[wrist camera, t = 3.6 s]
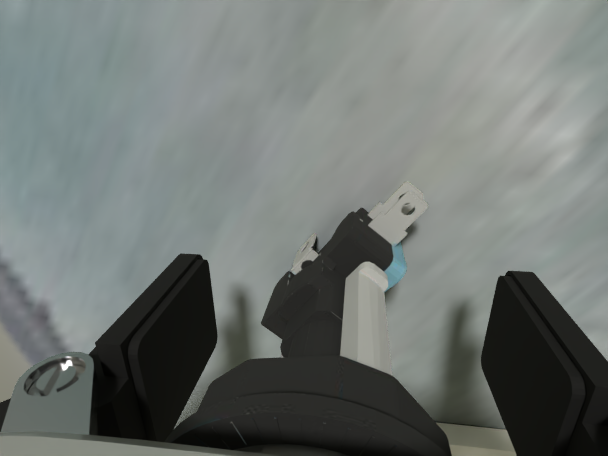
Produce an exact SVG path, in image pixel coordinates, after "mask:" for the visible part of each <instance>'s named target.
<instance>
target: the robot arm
mask: <svg viewBox="0 0 608 456" xmlns="http://www.w3.org/2000/svg"><path fill="white" fill-rule="evenodd" d="M216 343H217V327H216V319H215V311H214V303H213V295H212V287H211V279H210V271H209V264H208V261H207V260H203V258H202V256H201V255H198V254H180V255H178V256H177V257H176V258H175V260H174V261H173V262H172V263H171V264H170V265H169V266H168V267H167V268H166V269H165V270H164V271H163V272H162V273H161V274H160V275H159V276H158V277H157V278H156V279H155V281H154V282H153V283H152V284H151V285H150V286H149V287H148V288H147V289H146V290H145V291H144V292H143V293H142V294H141V295H140V296H139V297H138V298H137V299H136V300H135V302H134V303H133V304H132V305H131V306H130V307H129V308H128V309H127V310H126V311H125V312H124V313H123V314H122V315H121V316H120V317H119V318H118V319H117V320H116V321H115V323H114V324H113V325H112V326H111V327H110V328H109V329H108V330H107V331H106V332H105V333H104V334H103V335H102V336H101V337H100V338H99V339H98V340H97V341H96V342H95V344H96V347H95V348H94V349H93V350H92V351H91V352H90V354H89V355H88V354H85V353H82V352H67V353H61V354H58V355H55V356H52V357H49V358H47V359H45V360H43V361H41V362H39V363H37V364H35V365H34V366H33V367H31V368H30V369H28V370H27V371H26V372H25V373H24V374H23V375H22V376H21V377H20V378H19V380H18V382H17V384H16V385H15V388H14V391H13V394H12V397H11V399H9V400H6V401H3V402H1V403H0V456H278V455H270V454H261V453H253V452H244V451H235V450H226V449H218V448H209V447H200V446H191V445H182V444H174V443H165V442H164V441H165V439H166V438H167V437H168V436H169V434H170V433H171V432H172V431H173V429H174V427H175V425H176V423H177V421H178V419H179V417H180V415H181V413H182V411H183V409H184V407H185V405H186V403H187V401H188V399H189V397H190V396H191V394H192V392H193V390H194V388H195V386H196V384H197V382H198V380H199V378H200V376H201V374H202V372H203V370H204V368H205V366H206V364H207V362H208V360H209V358H210V357H211V355H212V353H213V351H214V349H215V346H216ZM481 365H482V369H483V372H484V375H485V377H486V380H487V382H488V385H489V387H490V390H491V392H492V395H493V397H494V400H495V402H496V405H497V407H498V410H499V412H500V415H501V417H502V420H503V422H504V425H505V427H506V430H507V432H508V435H509V437H510V440H511V442H512V445H513V447H514V450H515V452H516V455H517V456H608V361H607V360H606V359H605V358H604V357H603V355H602V354H601V353H600V352H599V351H598V349H597V348H596V347H595V346H594V345H593V343H592V342H591V341H590V340H589V339H588V337H587V336H586V335H585V334H584V333H583V331H582V330H581V329H580V328H579V327H578V325H577V324H576V323H575V322H574V321H573V319H572V318H571V317H570V316H569V315H568V313H567V312H566V311H565V310H564V309H563V307H562V306H561V305H560V304H559V303H558V301H557V300H556V299H555V298H554V297H553V295H552V294H551V293H550V292H549V290H548V289H547V288H546V287H545V286H544V284H543V283H542V282H541V281H540V280H539V278H538V277H537V276H536V275H535V274H534V273H533V272H521V271H508V272H507V273H506V275H505V276H500V277H499V278H498V281H497V285H496V290H495V294H494V299H493V304H492V308H491V313H490V318H489V322H488V327H487V332H486V336H485V341H484V346H483V350H482V355H481Z"/></svg>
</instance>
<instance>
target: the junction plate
mask: <svg viewBox="0 0 608 456" xmlns="http://www.w3.org/2000/svg"><path fill="white" fill-rule="evenodd" d="M436 424H437V425H438V426H439V427H440V428H441V429H442V430H443V431H444V432H445V434H446V436H447V438H448V441H449V446H450V450H451V454H452V456H517V455H516V452H515V450H514V447H513V445H512V442H511V440H510V437H509V435H508V432H507V430H503V429H494V428H484V427H474V426H465V425H455V424H446V423H436Z"/></svg>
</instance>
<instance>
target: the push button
mask: <svg viewBox="0 0 608 456" xmlns="http://www.w3.org/2000/svg"><path fill="white" fill-rule="evenodd" d="M402 194H404V195H403V196H402V197H401V198H400V199H399V197H400V195H402ZM406 203H409V204H407V205H404V204H406ZM414 207H415V211H414V212H413V213H412V214H411V215H407V214H408V213H409V212H410V211H411V210H412V209H413V208H414ZM427 208H428V203H427V202H426V201H424V200H423V193H422V192H421V191H419V190H418V189H417V188H416V187H415V186H413V185H412V184H411V183H410V182H404V183H403V184H402V185H401V186H400V187H399V188H398V190H397V191H396V192H395V193H394V194H393V195H392V196H391V197H390V198H389V199H388V200H387V201H386V202H385V203H384V204H382V203H381V202H379V203H378V204H377V205H376V206H375V207H374V208H373V209H372V210H371V211H370V212H369V213H368V212H367V211H366V210H365V209H363V208H360V209H359V210H358V211H357V212H356V213H355V212H351V213H350V214H348V215H347V217H346V218H345V219H344V220H343V221H342V222H341V223H340V225H339V226H338V228H337V230H336V231H335V233H334V235H333V237H332V239H331V240H330V241H329V242H328V243H327V244H326V245H325V246H324V247H323V248H322V249H321V250H320V252H319V253H317V252H315V251H314V250H313V246H314V243H315V239H316V236H317V233H313V234H312V235H311V237H310V238H309V239H308V240H307V241H306V242H305V243H304V244H303V245H302V247H301V248H300V249H299V251H298V252H297V254H296V257H295V260H294V263H293V268H292V269H291V272H290V271H288V272H287V273H286V274H285V275H284V276H283V277H282V278H281V280H280V281H279V282H278V283H277V285H276V286H275V288H274V291H273V293H272V296H271V298H270V301H269V303H268V306H267V309H266V311H265V314H264V316H263V319H262V322H261V324H262V325H263V326H264V327H266V328H267V329H269V330H270V331H271V332H273V333H274V334H276V335H277V336H278V337H280V338H281V339H283V340H282V343H281V353H282V354H281V358H262V359H250V360H247V361H245V362H244V363H242V364H240V365H239V366H237V367H235V368H234V369H232V370H230V371H229V372H227V373H226V374H224V375H222V376H221V377H219V378H217V379H216V380H214V381H213V382H212V383H211V384H210V385H209V388H208V390H207V392H206V394H205V396H204V398H203V400H202V402H201V404H200V407H199V409H198V411H197V412H196V413H194V414H192V415H191V416H190V417H188V418H187V419H185V420H184V421H182V422H181V423H180V424H179V425H178V426H177V427H176V428H175V429H174V430H173V431H172V432H171V433H170V434H169V436H168V437H167V438H166V439H165V441H164V442H165V443H174V444H182V445H191V446H200V447H209V448H218V449H226V450H235V451H244V452H253V453H261V454H270V455H278V456H452V454H451V450H450V446H449V441H448V438H447V436H446V434H445V432H444V431H443V430H442V429H441V428H440V427H439V426H438V425H437V424H436V422H435V421H434V420H433V419H432V418H431V417H430V416H429V415H428V414H427V412H426V411H425V410H424V409H423V408H422V407H421V406H420V405H419V404H418V403H417V401H416V400H415V399H414V398H413V397H412V396H411V395H410V394H409V393H408V391H407V390H406V389H405V388H404V387H403V386H402V385H401V384H400V383H399V381H398V380H397V379H396V378H394V377H393V375H392V365H391V355H390V345H389V335H388V325H387V315H386V305H385V295H384V293H385V292H386V291H387V290H388V289H389V288H390V287H393V286H394V285H395V284H396V283H398V282H399V281H400V280H401V279H402V277H403V276H404V275H405V273H406V271H407V265H406V262H405V259H404V255H403V250H402V246H401V240H402V239H403V238H404V237H405V236H406V235H407V234H408V233H407V232H406V231H405V230H406V229H407V228H408V227H409V226H410V225H411V224H412V223H413V222H414V221H415V220H416V219H417V218H418V217H419V216H420V215H421V214H422V213H423V212H424V211H425V210H426V209H427ZM306 246H307V247H306ZM303 250H304V251H303ZM293 273H294V274H295V275H294V274H293Z"/></svg>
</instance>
